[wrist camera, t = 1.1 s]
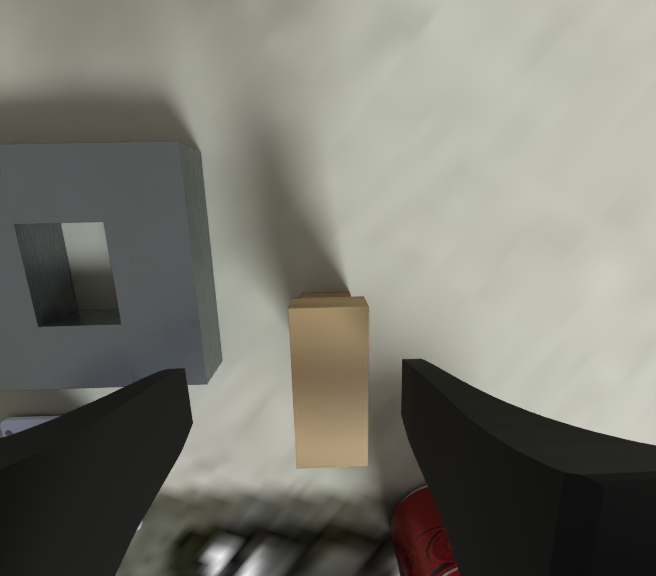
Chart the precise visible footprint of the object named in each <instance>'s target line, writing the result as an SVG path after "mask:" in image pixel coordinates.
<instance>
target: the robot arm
mask: <svg viewBox="0 0 656 576" xmlns="http://www.w3.org/2000/svg"><path fill="white" fill-rule="evenodd" d="M401 415H402V419H403V422H404V426H405V430H406V433H407V437H408V440H409V443H410V445H411V448H412V450H413V453H414V455H415V457H416V460H417V462H418V464H419V467H420V469H421V471H422V474H423V476H424V478H425V481H426V483H427V485H428V487H429V490H430V492H431V494H432V497H433V499H434V501H435V504H436V506H437V508H438V511H439V514H440V516H441V519H442V521H443V524H444V527H445V530H446V533H447V536H448V539H449V542H450V546H451V549H452V552H453V555H454V558H455V561H456V564H457V567H458V571H459V574H460V576H656V445H650V444H645V443H640V442H635V441H630V440H626V439H622V438H618V437H614V436H609V435H605V434H601V433H597V432H593V431H590V430H586V429H582V428H579V427H575V426H572V425H569V424H565V423H562V422H559V421H556V420H553V419H550V418H546V417H543V416H541V415H538V414H535V413H532V412H529V411H527V410H524V409H522V408H519V407H517V406H514V405H512V404H509V403H507V402H504V401H502V400H500V399H497V398H495V397H493V396H491V395H489V394H487V393H485V392H483V391H481V390H479V389H477V388H475V387H473V386H471V385H469V384H467V383H465V382H463V381H461V380H460V379H458V378H456V377H454V376H452V375H451V374H449V373H447V372H445V371H444V370H442V369H440V368H438V367H437V366H435V365H433V364H431V363H429V362H427V361H425V360H423V359H402V402H401ZM192 424H193V420H192V413H191V407H190V400H189V393H188V386H187V379H186V372H185V368H176V369H164V370H161V371H158V372H156V373H153V374H151V375H149V376H147V377H144V378H142V379H140V380H138V381H136V382H134V383H132V384H130V385H127V386H125V387H123V388H121V389H119V390H117V391H115V392H113V393H111V394H109V395H107V396H104V397H102V398H100V399H98V400H96V401H93V402H91V403H89V404H87V405H84V406H82V407H80V408H78V409H76V410H73V411H71V412H69V413H67V414H64V415H62V416H34V417H9V418H7V419H5V420H4V421H2V422H1V424H0V428H1V431H2V435H3V438H0V576H115V575H116V572H117V570H118V568H119V566H120V564H121V562H122V559H123V557H124V555H125V553H126V551H127V549H128V547H129V544H130V542H131V540H132V538H133V536H134V534H135V532H136V531H137V530H139V529H140V527H141V525H142V524H143V521H142V519H143V518H144V516H145V514H146V512H147V511H148V509H149V507H150V506H151V504H152V502H153V500H154V499H155V497H156V495H157V493H158V492H159V490H160V488H161V487H162V485H163V483H164V481H165V480H166V478H167V476H168V474H169V473H170V471H171V469H172V467H173V466H174V464H175V462H176V460H177V459H178V457H179V455H180V453H181V451H182V449H183V447H184V444H185V442H186V440H187V437H188V434H189V432H190V429H191V427H192ZM11 431H12V432H11Z"/></svg>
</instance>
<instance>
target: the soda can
mask: <svg viewBox="0 0 656 576" xmlns="http://www.w3.org/2000/svg"><path fill="white" fill-rule="evenodd" d="M391 535H392V540H393V544H394V549H395V553H396V558H397V563H398V567H399V572H400V576H460V574H459V571H458V567H457V564H456V561H455V558H454V555H453V552H452V549H451V546H450V542H449V539H448V536H447V533H446V530H445V527H444V524H443V521H442V519H441V516H440V514H439V511H438V508H437V506H436V504H435V501H434V499H433V497H432V494H431V492H430V490H429V487H428V485H425V486H422V487H420V488H417V489H416V490H414V491H412V492H411V493H409V494H408V495H407V496H406V497H405V498H404V499H403V500H402V501H401V502H400V504H399V505H398V506H397V508H396V510H395V512H394V514H393V517H392V521H391Z"/></svg>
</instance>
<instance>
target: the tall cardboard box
mask: <svg viewBox="0 0 656 576" xmlns="http://www.w3.org/2000/svg"><path fill="white" fill-rule="evenodd" d="M288 313H289V332H290V351H291V370H292V389H293V408H294V427H295V446H296V465H297V469H298V468H325V467H353V466H368V358H369V306H368V304H367V302H366V300H365V298H364V296H360V297H351V295H350V292H322V293H302V297H301V298H292V299H291V302H290V305H289V308H288Z"/></svg>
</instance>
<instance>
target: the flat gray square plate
mask: <svg viewBox="0 0 656 576" xmlns="http://www.w3.org/2000/svg"><path fill="white" fill-rule="evenodd" d="M79 222H104V227H105V233H106V239H107V245H108V250H109V256H110V262H111V267H112V273H113V279H114V285H115V290H116V296H117V302H118V307H119V310H88V311H78V308H77V303H76V298H75V293H74V288H73V283H72V278H71V273H70V269H69V264H68V259H67V254H66V249H65V244H64V239H63V234H62V229H61V225H60V223H79ZM221 362H222V353H221V343H220V333H219V324H218V314H217V305H216V295H215V285H214V276H213V266H212V257H211V247H210V237H209V228H208V218H207V209H206V199H205V189H204V180H203V170H202V160H201V152H199V151H197V150H195V149H193V148H191V147H189V146H187V145H185V144H183V143H181V142H180V141H148V142H98V143H47V144H0V391H11V390H42V389H74V388H105V387H125V386H127V385H130V384H132V383H134V382H136V381H138V380H140V379H142V378H144V377H147V376H149V375H151V374H153V373H156V372H158V371H161V370H164V369H176V368H185V372H186V379H187V385H200V384H207V383H208V382H209V380H210V379H211V377H212V376H213V374H214V373H215V371H216V370H217V368H218V367H219V365H220V364H221Z"/></svg>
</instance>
